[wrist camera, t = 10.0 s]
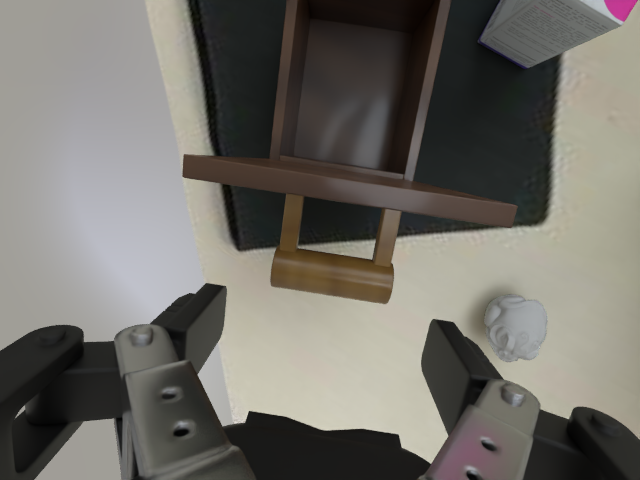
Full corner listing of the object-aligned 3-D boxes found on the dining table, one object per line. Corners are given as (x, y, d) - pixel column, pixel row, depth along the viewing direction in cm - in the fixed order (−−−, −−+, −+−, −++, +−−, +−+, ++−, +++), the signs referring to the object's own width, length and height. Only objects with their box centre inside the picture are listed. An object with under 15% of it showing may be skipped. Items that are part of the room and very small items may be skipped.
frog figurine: (459, 321, 40) (484, 354, 33) (495, 273, 39) (529, 297, 32) (501, 345, 41) (534, 382, 34) (538, 298, 39) (581, 328, 32)
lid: (183, 154, 12) (175, 292, 13) (518, 205, 12) (480, 339, 13) (268, 158, 27) (261, 222, 28) (414, 181, 27) (401, 243, 28)
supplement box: (527, 71, 34) (622, 29, 22) (475, 42, 33) (546, -16, 22) (562, 12, 32) (682, -65, 21) (509, -19, 32) (603, -114, 21)
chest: (304, 11, 33) (292, -49, 24) (421, 28, 33) (456, -24, 24) (285, 162, 37) (268, 163, 27) (392, 178, 37) (412, 185, 27)
